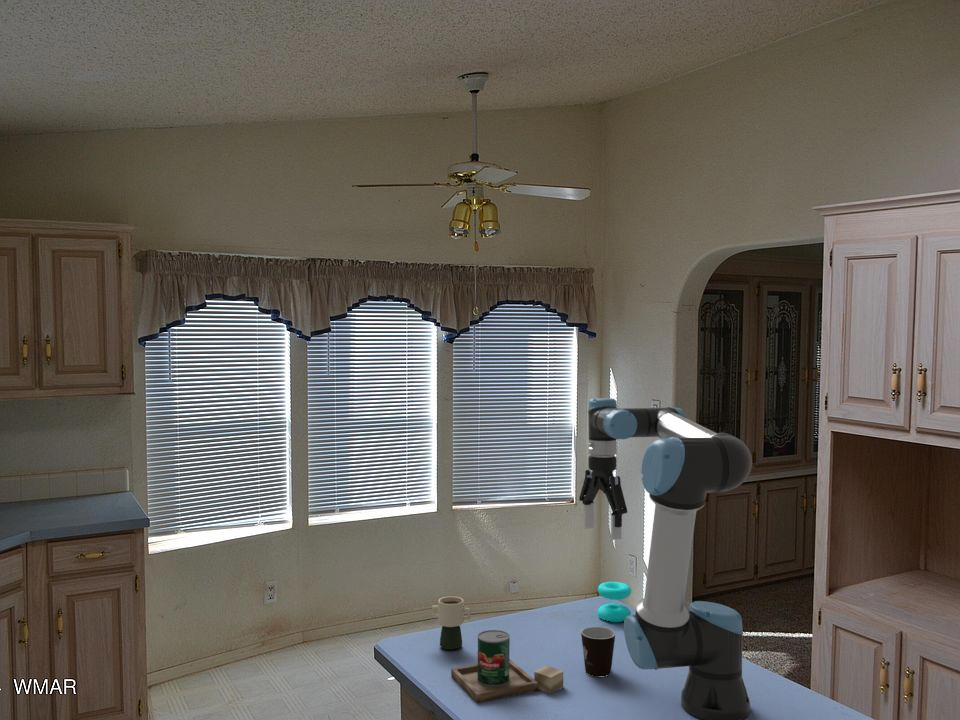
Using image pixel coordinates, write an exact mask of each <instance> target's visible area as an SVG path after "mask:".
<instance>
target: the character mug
mask: <svg viewBox="0 0 960 720" xmlns="http://www.w3.org/2000/svg"><path fill="white" fill-rule="evenodd" d="M464 606H465V600H464V599H463V598H462V597H460V596H452V595H451V596H443V597H440V598H439V599H438V601H437V605H435V604H434V605H432V606H431V616H432V617H433V618H437V621H438V624H439V625H440V626H442V627H441V631H440V637H439V646H440V647H441V648H443V649H445V650H456V649H458V648H460V647H462V646H463V636H462V629H461V626H462V624H464V621H469V620H471V608H470V607H464ZM436 610H437V611H438V612H437V613H436ZM465 612H466V615H465Z"/></svg>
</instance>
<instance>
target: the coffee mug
mask: <svg viewBox="0 0 960 720" xmlns="http://www.w3.org/2000/svg"><path fill="white" fill-rule="evenodd" d="M580 635H581V644H582V653H583V661H584V662H583V663H584V672H585V671H586V672H585V674H587V673H588V674H590V675H593V676H606V675H609V674H610V673H611V672H612V665H613V657H614V649H615V641H616V632H615V631H614V630H613V629H610V628H608V627H603V626H590V627H585V628H583V629H581V630H580ZM588 674H587V675H588ZM590 675H589V676H590ZM610 675H611V674H610ZM610 675H609V676H610ZM593 676H592V677H593ZM606 677H607V676H606Z"/></svg>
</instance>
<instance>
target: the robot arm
mask: <svg viewBox="0 0 960 720" xmlns="http://www.w3.org/2000/svg"><path fill="white" fill-rule="evenodd" d="M617 405H618V404H617V400H616V399H615V398H609V397H594V398H591V399H590V400H589V401H588V410H587V413H588V446H587V447H588V454H589V456H588V469H586V470H585V475H584V480H583V482H582V487H581V491H580V494H579V498H578V499H579V501H580V502H582V504H583V519H584V520H583V521H584V522H583V524H584V525H583V528H584V529H585V530H586V529H594V528H595V505H594V500H595V498H596V496H597V494H598V493H599V490H600V491H601V492H602V493H603V494H604V495H605V496H606V499H607V501H608V504H609V507H610V509H611V513H610V514H611V515H610V540H612V541H614V540H622V526H623V524H622V523H623V515H624V514H627V513H628V508H627V505H626V500H625V497H624V493H623V488H622V483H621V477H620V475H618V476H615V475H614V474H613V473H614V471H616V470H617V458H618V457H616V455H617V453H618V447H617V446H618V445H617V444H618V443H617V440H626V439H629V438H658V439H656V440H653V442H651V443H650V444H649V445H648V447H647V448H646V450H645V452H644V455H643V459H642V463H641V470H640V471H641V474H642V476H641V482H642V485H643V488H644V489H645V491H646V492H647V493H648V495H649V499H650V500H651V501H652V503H653V504H655V506H654V514H653V523H652V531H651V540H650V548H649V556H648V563H647V564H648V565H647V566H648V567H647V574H646V581H645V589H644V590H645V591H644V597H643V598H642V599H640V600H639V601H638V602H637V603H636V606H635V614H634V615H633V614H631V615H630V616H627V617H626V618H625V621H624V622H623V632H624V634H623V635H624V639H625V645H626V648H627V651H628V654H629V656H630V658H631V660H632V662H633V663H634V665H635V666H636V667H638V669H641V670H655V671H657V670H660V669H671V668H672V669H673V668H683V667H688V673H687V675H686V676H687V677H686V680H685V682H684V683H685V684H684V686H683V688H682V690H681V693H680V704H681V707H682V709H683V710H684V711H685V712H687V713H688V715H689V714H690V715H691V716H692V717H693V716H694V717H695V718H698V719H700V720H745V719H746V718H747V717H749V715H750V713H751V701H750V698H749V695H748V692H747V691H748V690H747V687H746V685H745V682H744V679H743V635H744V631H743V620H742V616H741V614H740V613H739V612H738V611H737V610H736V609H734V608H731V607H730V606H726V605H724V604H721V603H716V602H712V601H703V600H695V601H693V602H690V604H689V606H688V609H687V608H686V606H685V597H686V590H687V585H688V584H687V583H688V576H689V569H690V562H691V555H692V547H693V541H694V539H693V538H694V532H695V526H696V525H695V523H696V518H697V517H696V515H697V511H700V510H701V509H703V507H704V506H705V505H706V500H707V499H706V498H707V494H709V493H720V492H721V493H722V492H728V491H729V492H730V491H731V490H734V489H736V488H738V487H740V486H741V485H742V484H743V483H744V482H745V481H746V480H747V478H748V477H749V475H750V473H751V471H752V466H753V465H752V464H753V459H752V458H753V457H752V454H751V451H750V448H748V446H747V445H746V444H745V443H744V441H742V440H741V439H740V438H737V437H735V436H734V435H731V434H729V433H726V432H718V433H717V432H715V431H713V430H711V429H709V428H707V427H705V426H703V425H701V424H698V423H696V422H694V421H692V420H691V419H688V417H687V415H686V413H685V411H684V409H682V408H680V407H672V406H666V407H650V408H649V407H648V408H646V407H645V408H644V407H640V408H639V407H632V408H619V407H618V406H617Z"/></svg>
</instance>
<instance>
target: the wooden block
mask: <svg viewBox="0 0 960 720" xmlns="http://www.w3.org/2000/svg"><path fill="white" fill-rule="evenodd" d="M533 675H534V677H533V679H534V680H535V681H537V682H538V690H540V691H542V692H544V693H548V694H550V693H551V694H553V693H555V692H557V691H558V689H559V690H561V689H563V688H564V671H563V670H560V669H558V668H555V667H554V666H553V667H552V666H549V665H545V666H543V667H541V668H538V669H537V670H534V673H533ZM562 687H563V688H562ZM560 688H561V689H560ZM556 690H557V691H556ZM554 691H555V692H554Z"/></svg>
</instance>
